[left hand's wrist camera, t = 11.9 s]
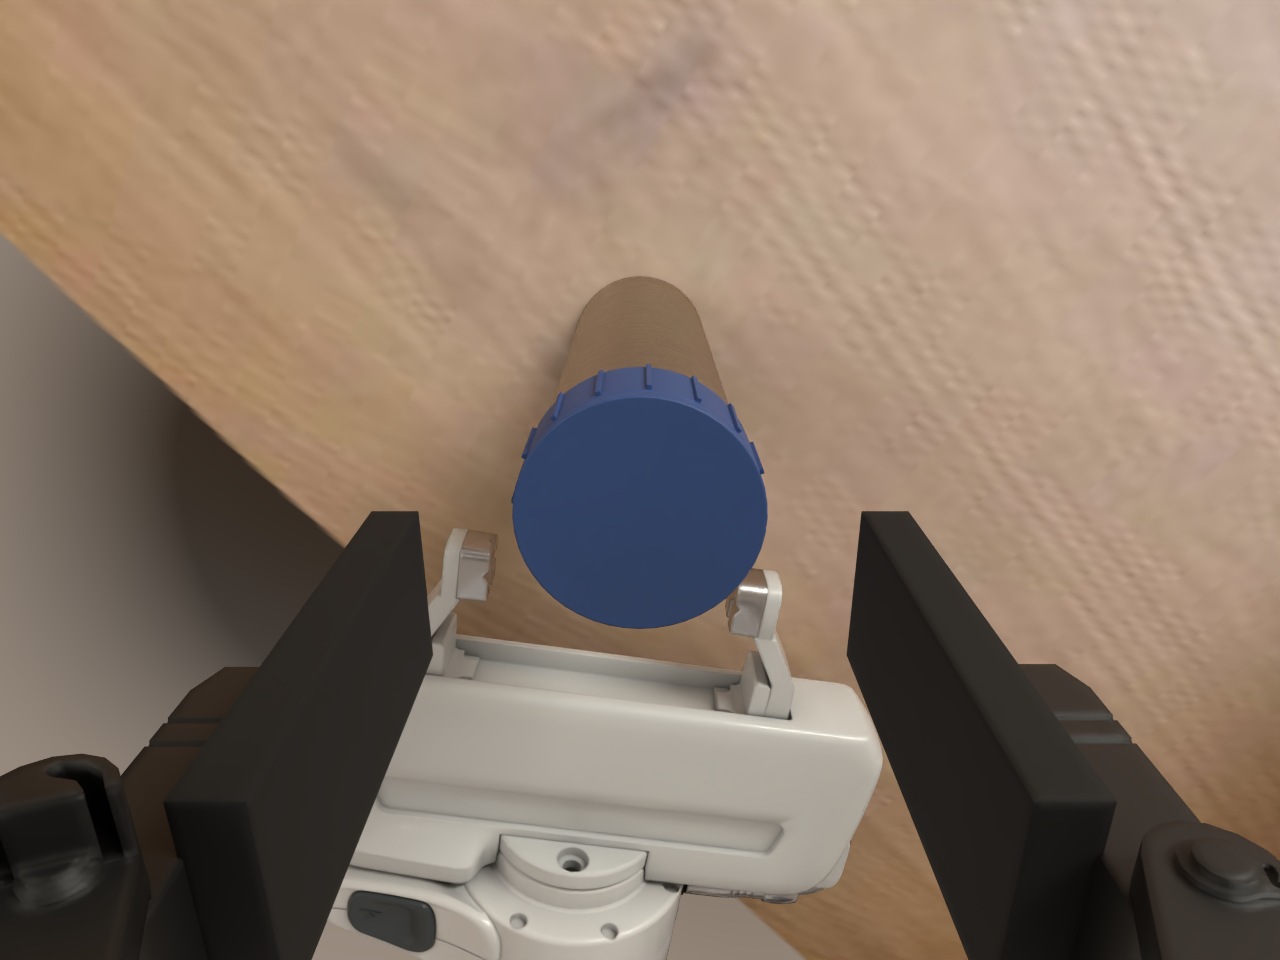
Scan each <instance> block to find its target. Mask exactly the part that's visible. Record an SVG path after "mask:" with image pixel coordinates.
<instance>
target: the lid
mask: <svg viewBox="0 0 1280 960" xmlns="http://www.w3.org/2000/svg"><path fill="white" fill-rule="evenodd" d="M522 458H523V459H525V460H524V462H523V465H522V468H521V471H520V474H519V477H518V480H517V483H516V487H515V491H514V494H513V496H512V503H513V525H514V533H515V537H516V540H517V544H518V548H519V550H520V552H521V554H522V557H523V559H524V561H525V563H526V565H527V566H528V568H529V570H530V571H531V573H532V575H533V576H534V577H535V578H536V580H537V581H538V582H539V583H540V585H541V586H542V587H543V588H544V589H545V590H546V591H547V592H548V593H549V594H550V595H551V596H552V597H553V598H555V599H556V600H557V601H559V602H560V603H561V604H562V605H564V606H565V607H567V608H569V609H570V610H572V611H574V612H575V613H577V614H579V615H581V616H584V617H586V618H588V619H591V620H593V621H596V622H599V623H603V624H606V625H610V626H616V627H622V628H635V629H645V628H658V627H664V626H670V625H674V624H677V623H681V622H684V621H687V620H689V619H692V618H694V617H696V616H699V615H701V614H703V613H704V612H706V611H708V610H710V609H712V608H713V607H715V606H716V605H717V604H719V603H720V602H721V601H723V600H724V599H726V598H727V597H728V596H729V595H730V594H731V593H732V592H733V591H734V590H735V589H736V588H737V587H738V586H739V585H740V583H741V582H742V581H743V580H744V578H745V577H746V576H747V575H748V573H749V571H750V570H751V568H752V566H753V565H754V563H755V561H756V559H757V557H758V554H759V552H760V550H761V547H762V544H763V540H764V537H765V532H766V525H767V516H768V515H767V499H766V492H765V487H764V484H763V480H762V477H761V474H764V470H763V467H762V465H761V462H760V459H759V456H758V454H757V451H756V448H755V446H754V443H753V442H750V443H749V440H748V437H747V435H746V433H745V431H744V429H743V427H742V425H741V423H740V421H739V420H738V418H737V415H736V413H735V410H734V407H733V405H732V404H731V403H730V404H728V405H727V404H726V403H725V402H724V401H723V400H722V399H721V398H720V397H719V396H718V395H716V394H715V393H714V392H713V391H712V390H710V389H709V388H707V387H706V386H704V385H703V384H701V383H700V382H698V379H697V377H695V376H692V378H689V377H687V376H685V375H682V374H679V373H676V372H673V371H669V370H664V369H659V368H651V364H646V367H629V368H621V369H616V370H610V371H607V372H604V371H603V369H602V370H599V371H598V375H595V376H593V377H591V378H588V379H586V380H584V381H582V382H580V383H579V384H577V385H576V386H574V387H573V388H571V389H570V390H568V391H567V392H566V393H565V394H563V393H562V392H560V393H559V394H558V396H557V399H556V402H555V403H554V404H553V405H552V406H551V407H550V409H549V410H548V411H547V412H546V414H545V415H544V417H543V418H542V420H541V421H540V423H539V425H538V427H537V429H536V428H534V427H533V428H532V430H531V433H530V435H529V438H528V441H527V444H526V446H525V449H524V452H523V454H522Z"/></svg>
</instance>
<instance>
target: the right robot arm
mask: <svg viewBox="0 0 1280 960" xmlns="http://www.w3.org/2000/svg"><path fill="white" fill-rule="evenodd" d="M497 543H498V534H493V533H486V532H480V531H474V530H468V529H460V528H453V530H452V533H451V535H450V537H449V539H448V541H447V544H446V549H445V553H444V559H443V573H442V579H441V580H440V581H439V582H438V584H437V585H436V586H435V587H434V589H433V590H432V591H431V592H430V594H429V595H428V596H427V600H428V610H429V619H430V629H431V639H432V648H433V657H432V659H431V662H430V664H429V667H428V669H427V672H426V674H425V677H424V679H423V682H422V684H421V687H420V689H419V692H418V694H417V697H416V699H415V702H414V704H413V707H412V709H411V712H410V714H409V717H408V719H407V722H406V724H405V727H404V729H403V732H402V734H401V737H400V739H399V742H398V744H397V747H396V749H395V752H394V754H393V757H392V759H391V762H390V764H389V767H388V769H387V772H386V774H385V777H384V779H383V782H382V784H381V787H380V789H379V792H378V794H377V797H376V799H375V802H374V804H373V807H372V809H371V812H370V814H369V817H368V819H367V822H366V824H365V827H364V829H363V832H362V834H361V837H360V839H359V842H358V844H357V847H356V849H355V852H354V854H353V857H352V859H351V862H350V864H349V867H348V869H347V872H346V874H345V877H344V879H343V882H342V884H341V887H340V889H339V892H338V894H337V897H336V899H335V902H334V904H333V907H332V909H331V912H330V914H329V917H328V919H327V921H328V922H329V923H331V924H333V925H335V926H337V927H340V928H342V929H345V930H347V931H350V932H353V933H356V934H359V935H362V936H364V937H367V938H370V939H373V940H375V941H378V942H381V943H384V944H386V945H388V946H391V947H393V948H396V949H398V950H401V951H403V952H405V953H408V954H410V955H412V956H414V957H416V958H419V959H421V960H667V955H668V951H669V946H670V941H671V937H672V932H673V928H674V923H675V920H676V916H677V911H678V905H679V901H680V896H681V895H683V893H690V894H696V895H706V896H714V897H747V898H750V897H751V898H756V899H762V901H764V902H768V903H775V904H789V903H795V902H796V901H797V899H798V895H806V894H811V893H815V892H818V891H820V890H822V889H824V888H825V889H828V888H831V887H833V886H834V885H835V884H836V883H837V882H838V880H839V879H840V877H841V875H842V872H843V869H844V866H845V862H846V859H847V856H848V853H849V849H850V844H851V838H852V837H853V835H854V833H855V831H856V829H857V827H858V825H859V823H860V821H861V819H862V817H863V815H864V813H865V811H866V808H867V806H868V804H869V801H870V799H871V797H872V794H873V792H874V789H875V787H876V784H877V782H878V779H879V776H880V773H881V769H882V765H883V756H882V750H881V745H880V742H879V738H878V735H877V732H876V730H875V727H874V725H873V722H872V720H871V718H870V716H869V714H868V712H867V710H866V709H865V707H864V705H863V704H862V702H861V701H860V699H859V698H858V696H857V695H856V693H855V692H854V690H853V689H852V688H850V687H849V686H847V685H844V684H840V683H834V682H826V681H818V680H810V679H802V678H795V677H791V673H790V670H789V666H788V662H787V659H786V655H785V652H784V650H783V647H782V645H781V642H780V639H779V637H778V634H777V632H776V629H775V628H776V624H777V620H778V615H779V611H780V607H781V603H782V585H781V581H780V578H779V575H778V572H776V571H769V570H761V569H754V568H751V570H750V571H749V573H748V575H747V576H746V577H745V578H744V580H743V581H742V582H741V583H740V585H739V586H738V587H737V588H736V589H735V590H734V591H733V592H732V593H731V594H730V595H729V596H728V597H727V599H726V604H725V609H726V615H727V617H729V619H728V627H729V632H730V633H731V634H737V635H744V636H750V637H753V639H754V641H755V644H756V646H757V649H758V651H759V652H756V651H750V652H748V653H747V655H746V659H745V663H744V668H743V671H741V670H733V669H725V668H717V667H710V666H702V665H694V664H686V663H679V662H671V661H663V660H655V659H648V658H640V657H632V656H625V655H617V654H609V653H601V652H594V651H586V650H578V649H570V648H562V647H555V646H547V645H539V644H532V643H524V642H516V641H508V640H501V639H493V638H485V637H477V636H470V635H462V634H456V631H457V614H456V613H455V612H451V611H452V610H453V608H454V607H455V606H456V605H457V603H458V602H459V601H460V599H469V600H479V601H486V598H487V596H488V593H489V587H490V585H491V584H492V581H493V578H494V574H495V564H496V558H495V556H494V555H495V552H496V549H497Z"/></svg>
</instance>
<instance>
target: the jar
mask: <svg viewBox="0 0 1280 960" xmlns="http://www.w3.org/2000/svg"><path fill="white" fill-rule="evenodd" d="M646 364H651V368H659V369H664V370H669V371H673V372H676V373H679V374H682V375H685V376H687V377H689V378H692V376H695V377H697V379H698V382H700V383H701V384H703V385H704V386H706V387H707V388H709V389H710V390H712V391H713V392H714V393H715V394H716V395H718V396H719V397H720V398H721V399H722V400H723V401H724V402H725V403H726V404H727V405H728V402H727V399H726V396H725V393H724V390H723V387H722V384H721V381H720V378H719V375H718V372H717V369H716V366H715V363H714V360H713V357H712V353H711V350H710V347H709V344H708V341H707V338H706V335H705V332H704V329H703V326H702V323H701V320H700V317H699V315H698V313H697V311H696V309H695V307H694V306H693V304H692V303H691V301H690V300H689V299H688V298H687V297H686V296H685V295H684V294H683V293H682V292H681V291H680V290H679V289H677V288H676V287H674V286H673V285H671V284H669V283H667V282H665V281H662V280H659V279H656V278H651V277H641V276H640V277H629V278H624V279H621V280H618V281H615V282H613V283H611V284H609V285H607V286H606V287H604V288H603V289H601V290H600V291H599V292H598V293H597V294H596V295H594V297H593V298H592V299H591V300H590V301H589V303H588V304H587V306H586V307H585V309H584V311H583V313H582V315H581V317H580V320H579V323H578V326H577V329H576V332H575V335H574V338H573V341H572V344H571V348H570V351H569V354H568V357H567V360H566V363H565V366H564V369H563V372H562V375H561V378H560V381H559V384H558V387H557V390H556V393H555V396H554V399H553V402H552V405H553V404H554V403H555V402H556V399H557V396H558V394H559V393H560V392H562V393H563V394H565V393H566V392H567V391H568V390H570V389H571V388H573V387H574V386H576V385H577V384H579V383H580V382H582V381H584V380H586V379H588V378H591V377H593V376H595V375H598V371H599V370H602V369H603V371H604V372H607V371H610V370H616V369H621V368H629V367H646ZM552 405H551V406H552Z"/></svg>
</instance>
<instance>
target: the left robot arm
mask: <svg viewBox="0 0 1280 960" xmlns="http://www.w3.org/2000/svg"><path fill="white" fill-rule="evenodd" d="M432 657H433V648H432V639H431V629H430V619H429V610H428V600H427V590H426V581H425V571H424V562H423V552H422V542H421V533H420V523H419V513H418V511H372V512H371V513H370V514H369V516H368V517H367V518H366V520H365V521H364V523H363V524H362V525H361V527H360V528H359V530H358V531H357V532H356V534H355V535H354V537H353V538H352V539H351V541H350V542H349V544H348V545H347V546H346V548H345V549H344V550H343V552H342V553H341V555H340V556H339V557H338V559H337V560H336V562H335V563H334V564H333V566H332V567H331V569H330V570H329V572H328V573H327V574H326V576H325V577H324V578H323V580H322V581H321V582H320V584H319V585H318V587H317V588H316V589H315V591H314V592H313V594H312V595H311V596H310V598H309V599H308V601H307V602H306V603H305V605H304V606H303V608H302V609H301V610H300V612H299V613H298V615H297V616H296V617H295V619H294V620H293V621H292V623H291V624H290V626H289V627H288V628H287V630H286V631H285V633H284V634H283V635H282V637H281V638H280V640H279V641H278V642H277V644H276V645H275V646H274V648H273V649H272V651H271V652H270V653H269V655H268V656H267V658H266V659H265V660H264V662H263V663H262V665H261V666H260V667H224V668H223V669H221V670H220V671H218V672H217V673H216V674H214V675H213V676H211V677H210V678H208V679H207V680H205V681H204V682H202V683H201V684H199V685H198V686H196V687H195V688H193V689H192V690H190V691H189V693H188V694H187V695H186V696H185V698H184V699H183V700H182V701H181V703H180V704H179V705H178V706H177V707H176V709H175V710H174V711H173V712H172V714H171V715H170V716H169V717H168V723H164V724H163V725H162V726H161V727H160V728H159V730H158V731H157V732H156V733H155V735H154V736H153V737H152V738H151V739H150V741H149V742H150V743H149V746H148V747H144V748H143V749H142V751H141V752H140V753H139V754H138V755H137V757H136V758H135V759H134V760H133V762H132V763H131V764H130V765H129V766H128V768H127V769H126V770H125V771H124V773H123V774H122V775H121V776H120V772H119V769H118V768H117V767H116V766H115V765H114V764H112V763H111V762H110V761H109V760H107V759H106V758H104V757H98V756H92V755H87V754H75V755H65V756H56V757H50V758H47V759H44V760H40V761H37V762H34V763H31V764H27V765H24V766H21V767H18V768H16V769H14V770H12V771H10V772H8V773H6V774H4V775H2V776H0V960H311V959H312V957H313V954H314V952H315V949H316V947H317V944H318V942H319V939H320V937H321V934H322V932H323V929H324V927H325V924H326V922H327V919H328V917H329V914H330V912H331V909H332V907H333V904H334V902H335V899H336V897H337V894H338V892H339V889H340V887H341V884H342V882H343V879H344V877H345V874H346V872H347V869H348V867H349V864H350V862H351V859H352V857H353V854H354V852H355V849H356V847H357V844H358V842H359V839H360V837H361V834H362V832H363V829H364V827H365V824H366V822H367V819H368V817H369V814H370V812H371V809H372V807H373V804H374V802H375V799H376V797H377V794H378V792H379V789H380V787H381V784H382V782H383V779H384V777H385V774H386V772H387V769H388V767H389V764H390V762H391V759H392V757H393V754H394V752H395V749H396V747H397V744H398V742H399V739H400V737H401V734H402V732H403V729H404V727H405V724H406V722H407V719H408V717H409V714H410V712H411V709H412V707H413V704H414V702H415V699H416V697H417V694H418V692H419V689H420V687H421V684H422V682H423V679H424V677H425V674H426V672H427V669H428V667H429V664H430V662H431V659H432ZM847 657H848V659H849V662H850V664H851V667H852V669H853V672H854V674H855V677H856V679H857V682H858V684H859V687H860V689H861V692H862V694H863V697H864V699H865V702H866V704H867V707H868V709H869V712H870V714H871V717H872V719H873V722H874V724H875V727H876V729H877V732H878V734H879V737H880V739H881V742H882V744H883V747H884V749H885V752H886V754H887V757H888V759H889V762H890V764H891V767H892V769H893V772H894V774H895V777H896V779H897V782H898V784H899V787H900V789H901V792H902V794H903V797H904V799H905V802H906V804H907V807H908V809H909V812H910V814H911V817H912V819H913V822H914V824H915V827H916V829H917V832H918V834H919V837H920V839H921V842H922V844H923V847H924V849H925V852H926V854H927V857H928V859H929V862H930V864H931V867H932V869H933V872H934V874H935V877H936V879H937V882H938V884H939V887H940V889H941V892H942V894H943V897H944V899H945V902H946V904H947V907H948V909H949V912H950V914H951V917H952V919H953V922H954V924H955V927H956V929H957V932H958V934H959V937H960V939H961V942H962V944H963V947H964V949H965V952H966V954H967V957H968V959H969V960H1280V861H1279V860H1278V859H1277V858H1275V857H1274V856H1273V855H1272V854H1271V853H1269V852H1268V851H1267V850H1265V849H1263V848H1262V847H1260V846H1258V845H1256V844H1254V843H1253V842H1251V841H1249V840H1247V839H1245V838H1244V837H1242V836H1240V835H1238V834H1236V833H1233V832H1230V831H1227V830H1224V829H1221V828H1218V827H1215V826H1212V825H1209V824H1205V823H1201V822H1200V821H1199V820H1198V819H1197V817H1196V816H1195V815H1194V814H1193V812H1192V811H1191V810H1190V809H1189V808H1188V806H1187V805H1186V804H1185V803H1184V801H1183V800H1182V799H1181V798H1180V797H1179V795H1178V794H1177V793H1176V792H1175V790H1174V789H1173V788H1172V787H1171V786H1170V784H1169V783H1168V782H1167V781H1166V779H1165V778H1164V777H1163V776H1162V775H1161V773H1160V772H1159V771H1158V770H1157V769H1156V767H1155V766H1154V765H1153V764H1152V762H1151V761H1150V760H1149V759H1148V758H1147V756H1146V755H1145V754H1144V753H1143V751H1142V750H1141V749H1140V748H1139V747H1138V745H1137V744H1132V741H1131V737H1130V736H1129V734H1128V733H1127V732H1126V731H1125V729H1124V728H1123V727H1122V726H1121V725H1120V723H1119V722H1118V721H1117V720H1113V715H1112V714H1111V712H1110V711H1109V710H1108V709H1107V707H1106V706H1105V705H1104V704H1103V703H1102V701H1101V700H1100V699H1099V698H1098V696H1097V695H1096V694H1095V693H1094V692H1093V690H1092V689H1091V688H1090V687H1089V686H1087V685H1086V684H1084V683H1083V682H1081V681H1080V680H1078V679H1077V678H1075V677H1074V676H1072V675H1071V674H1069V673H1068V672H1066V671H1065V670H1063V669H1062V668H1060V667H1059V666H1057V665H1056V664H1018V663H1017V662H1016V660H1015V659H1014V658H1013V656H1012V655H1011V653H1010V652H1009V651H1008V649H1007V648H1006V646H1005V645H1004V644H1003V642H1002V641H1001V640H1000V638H999V637H998V635H997V634H996V633H995V631H994V630H993V628H992V627H991V626H990V624H989V623H988V621H987V620H986V619H985V617H984V616H983V614H982V613H981V612H980V610H979V609H978V608H977V606H976V605H975V603H974V602H973V601H972V599H971V598H970V596H969V595H968V594H967V592H966V591H965V589H964V588H963V587H962V585H961V584H960V582H959V581H958V580H957V578H956V577H955V576H954V574H953V573H952V571H951V570H950V569H949V567H948V566H947V564H946V563H945V562H944V560H943V559H942V557H941V556H940V555H939V553H938V552H937V550H936V549H935V548H934V546H933V545H932V544H931V542H930V541H929V539H928V538H927V537H926V535H925V534H924V532H923V531H922V530H921V528H920V527H919V525H918V524H917V523H916V521H915V520H914V518H913V517H912V516H911V514H910V513H909V512H908V511H862V513H861V523H860V533H859V542H858V552H857V562H856V571H855V581H854V590H853V600H852V610H851V619H850V629H849V639H848V648H847Z"/></svg>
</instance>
